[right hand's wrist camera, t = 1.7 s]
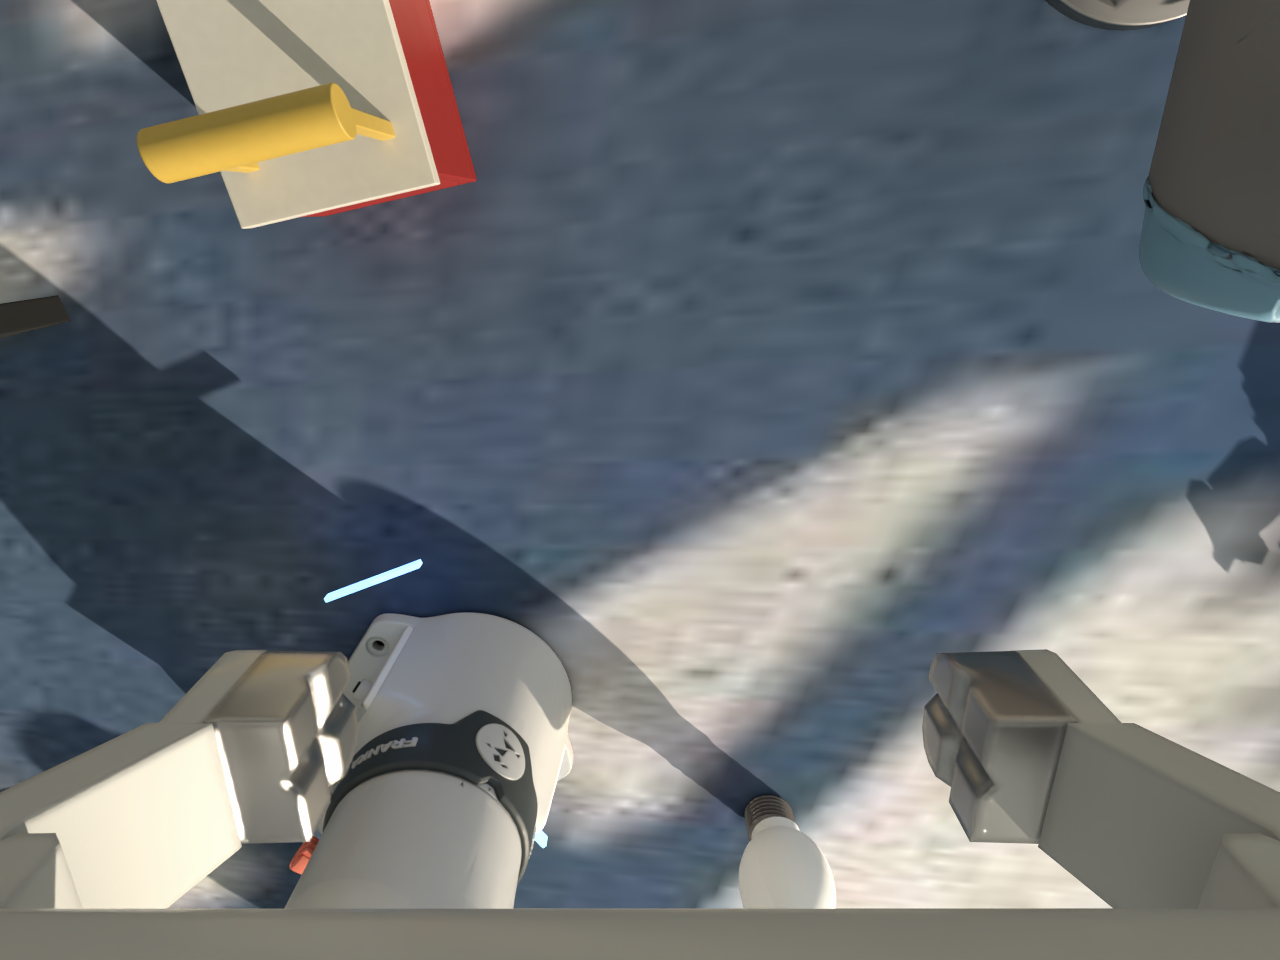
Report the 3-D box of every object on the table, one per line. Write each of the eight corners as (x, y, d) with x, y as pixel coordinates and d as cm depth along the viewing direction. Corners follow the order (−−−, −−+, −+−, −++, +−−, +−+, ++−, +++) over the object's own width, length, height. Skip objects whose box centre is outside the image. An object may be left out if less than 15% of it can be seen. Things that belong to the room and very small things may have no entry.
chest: (477, 180, 43) (438, 173, 35) (322, 216, 44) (247, 218, 36) (395, -127, 38) (326, -221, 30) (222, -81, 39) (107, -161, 31)
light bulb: (711, 810, 59) (726, 937, 49) (779, 765, 58) (810, 887, 47) (762, 859, 61) (787, 992, 51) (829, 818, 59) (870, 945, 49)
